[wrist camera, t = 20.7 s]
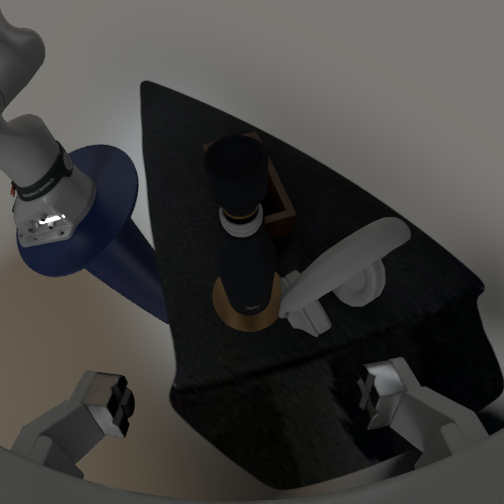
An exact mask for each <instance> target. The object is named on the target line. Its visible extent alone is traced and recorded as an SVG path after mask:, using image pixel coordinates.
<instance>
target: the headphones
mask: <svg viewBox="0 0 504 504" xmlns="http://www.w3.org/2000/svg"><path fill="white" fill-rule="evenodd" d="M410 237H411V234H410V230H409V228H408V226H407V225H406V224H405V223H404V222H403V221H402V220H400V219H398V218H395V217H386V218H382V219H379V220H377V221H375V222H373V223H371V224H369V225H367V226H365V227H363V228H361V229H360V230H358V231H356V232H354V233H353V234H351V235H350V236H348V237H346V238H345V239H343V240H342V241H340V242H339V243H337V244H336V245H334V246H333V247H331V248H330V249H329V250H327V251H326V252H324V253H323V254H322V255H321V256H320V257H318V258H317V259H316V260H315V261H314V262H313V263H312V264H311V265H310V266H309V267H308V268H306V269H305V270H304V271H303V272H302V273H301V274H300V273H299V272H298V271H296V270H294V271H293V272H291V273H289V274H288V275H286V276H285V278H280V282H281V298H280V302H279V305H280V309H279V313H278V315H279V317H280V318H287V319H288V320H289V322H290V323H291V325H292V326H293V328H297V329H302V330H304V331H306V332H308V333H310V334H312V335H313V336H315V337H318V336H319V333H320V334H322V333H323V332H325V331H326V330H328V329H330V328H331V322H330V320H329V318H328V316H327V315H326V313H325V311H324V309H323V307H322V306H321V304H320V303H319V301H318V298H320V297H322V296H323V295H325V294H326V293H328V292H330V291H333V293H334V294H335V295H336V296H337V297H338V298H339V299H340V300H341V301H342V302H344V303H346V304H348V305H350V306H364V305H366V304H367V303H369V302H371V301H372V300H374V299H375V298H377V297H378V296H379V295H381V292H382V290H383V288H384V285H385V268H384V266H383V263H382V261H381V259H382V258H383V257H384V256H386V255H387V254H388V253H389V252H390V251H392V250H393V249H395V248H397V247H398V246H400V245H402V244H404V243H405V242H406V241H408V240H409V239H410Z"/></svg>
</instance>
